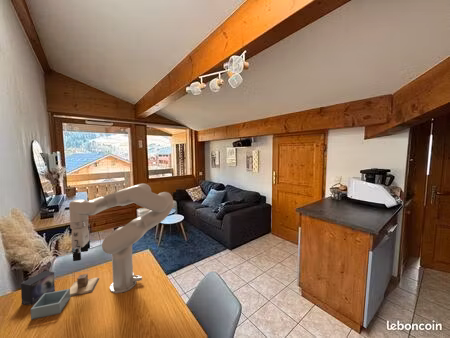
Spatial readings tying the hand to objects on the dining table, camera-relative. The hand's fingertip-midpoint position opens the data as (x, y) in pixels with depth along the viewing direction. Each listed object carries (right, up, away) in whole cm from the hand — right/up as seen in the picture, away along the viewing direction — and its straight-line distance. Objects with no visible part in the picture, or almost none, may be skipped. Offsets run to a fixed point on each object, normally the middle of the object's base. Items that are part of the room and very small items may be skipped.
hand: (80, 255), depth 100 cm
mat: (0, -18, +1) cm, 18 cm away
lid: (0, -17, +1) cm, 17 cm away
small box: (-16, -18, -6) cm, 25 cm away
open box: (-3, -18, -13) cm, 23 cm away
